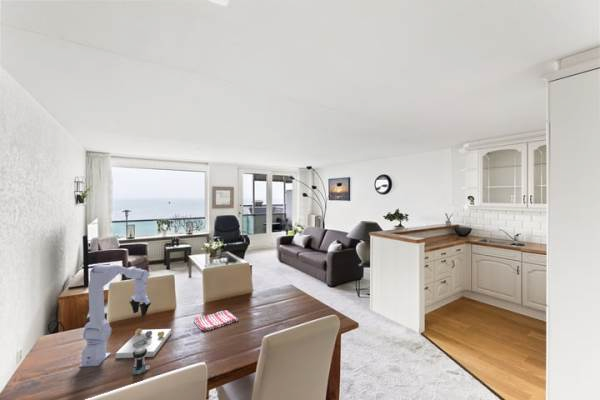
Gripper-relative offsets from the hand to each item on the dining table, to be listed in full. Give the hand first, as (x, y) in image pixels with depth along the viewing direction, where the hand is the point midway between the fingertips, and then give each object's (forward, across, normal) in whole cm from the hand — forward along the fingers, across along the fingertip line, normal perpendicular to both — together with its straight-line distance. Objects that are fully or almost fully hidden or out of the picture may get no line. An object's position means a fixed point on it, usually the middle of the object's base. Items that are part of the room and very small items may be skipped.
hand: (139, 314), depth 146 cm
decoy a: (+6, -8, +5) cm, 11 cm away
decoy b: (+6, -21, +1) cm, 22 cm away
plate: (+10, -17, +7) cm, 21 cm away
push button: (+10, -36, +21) cm, 42 cm away
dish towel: (+11, -30, -30) cm, 44 cm away
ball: (+6, -15, +4) cm, 17 cm away
